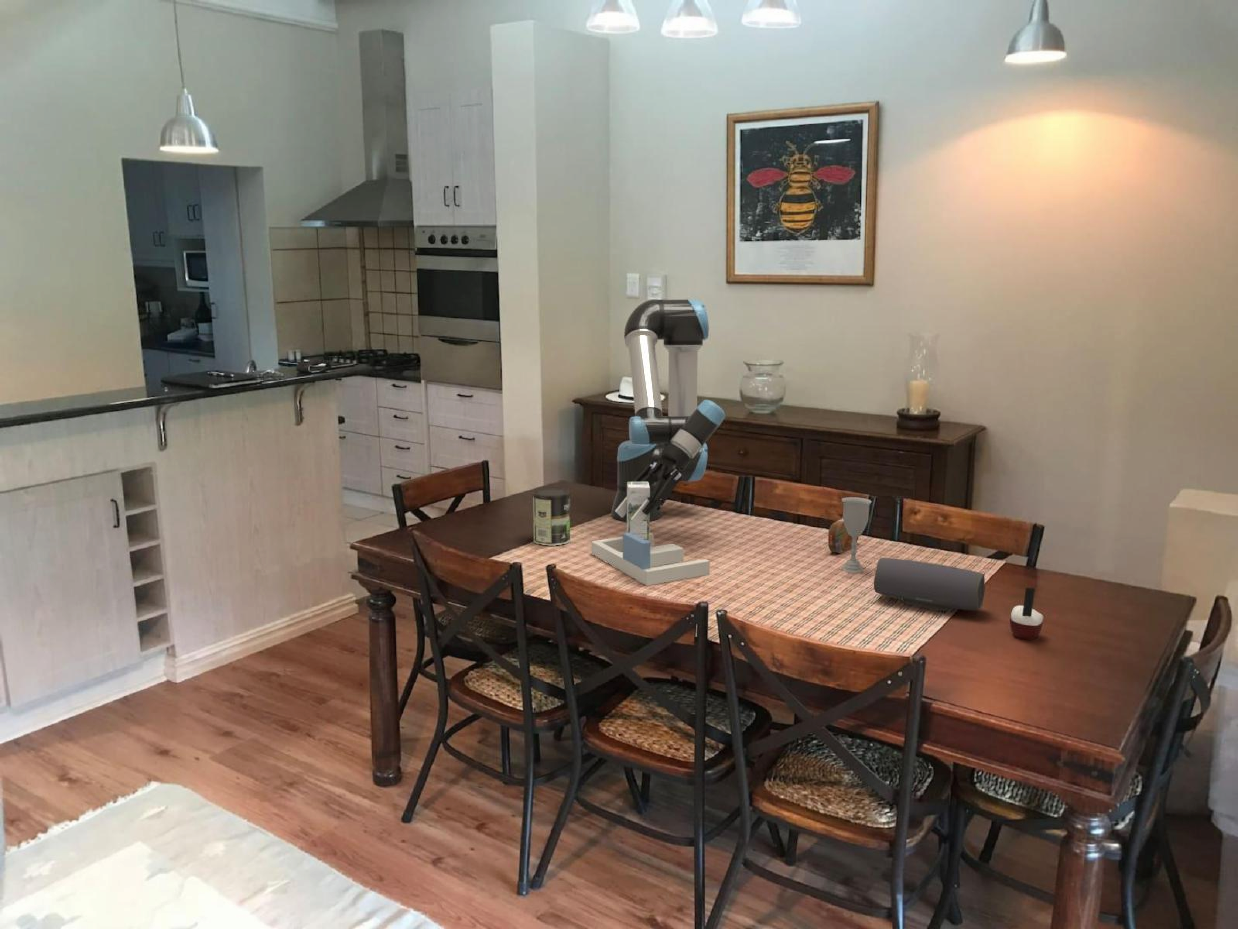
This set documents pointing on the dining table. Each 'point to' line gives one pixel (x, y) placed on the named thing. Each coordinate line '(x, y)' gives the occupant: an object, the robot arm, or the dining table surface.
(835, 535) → the brown stone slab
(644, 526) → the syrup box
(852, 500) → the chalice
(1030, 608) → the cocoa
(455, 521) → the dining table surface
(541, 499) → the coffee can
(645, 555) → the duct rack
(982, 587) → the bluetooth speaker
